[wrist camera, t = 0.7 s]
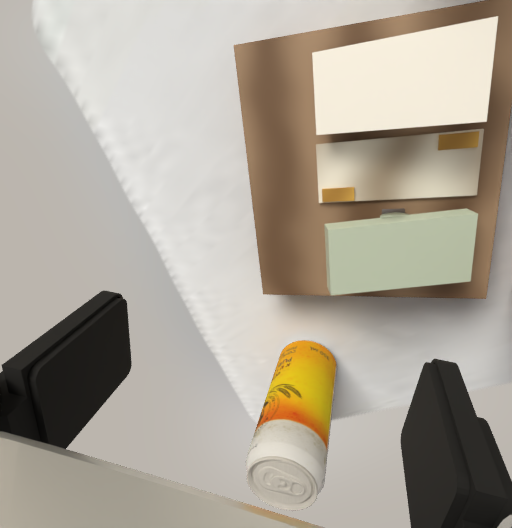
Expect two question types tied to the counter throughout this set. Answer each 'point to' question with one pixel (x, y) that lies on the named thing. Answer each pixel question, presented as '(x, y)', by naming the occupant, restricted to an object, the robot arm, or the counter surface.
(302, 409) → the beer can
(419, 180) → the switch unit
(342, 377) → the counter surface
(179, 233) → the counter surface
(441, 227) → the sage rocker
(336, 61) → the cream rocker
